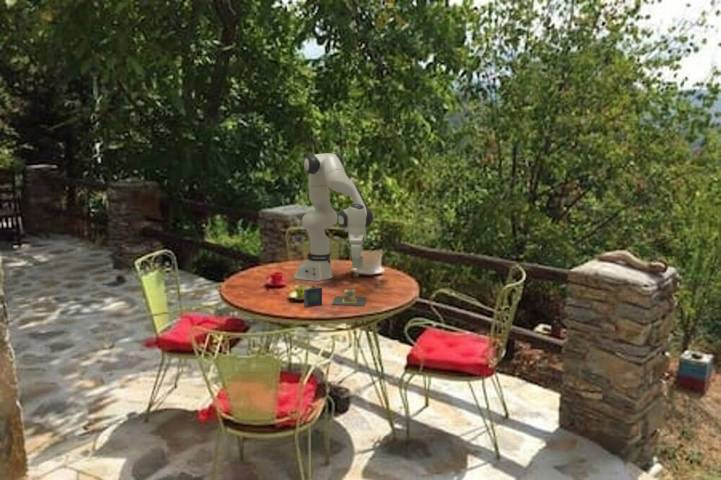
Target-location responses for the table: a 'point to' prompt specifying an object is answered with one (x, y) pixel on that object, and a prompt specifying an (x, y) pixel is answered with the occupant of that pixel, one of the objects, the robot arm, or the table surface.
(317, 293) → the dark blue box
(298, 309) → the table surface
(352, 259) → the sage cube
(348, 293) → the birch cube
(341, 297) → the mat
